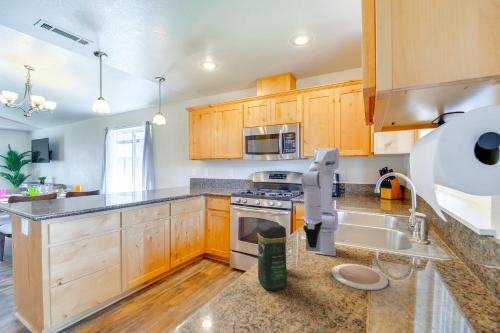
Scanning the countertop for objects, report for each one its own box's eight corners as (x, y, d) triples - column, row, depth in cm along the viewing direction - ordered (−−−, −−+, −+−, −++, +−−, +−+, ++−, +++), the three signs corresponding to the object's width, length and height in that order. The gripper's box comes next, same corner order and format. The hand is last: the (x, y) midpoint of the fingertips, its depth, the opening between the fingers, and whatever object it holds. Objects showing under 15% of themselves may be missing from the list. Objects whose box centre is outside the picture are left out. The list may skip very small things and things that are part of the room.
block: (307, 246, 81) (307, 229, 81) (320, 247, 80) (320, 230, 80) (306, 250, 77) (305, 232, 77) (319, 252, 75) (319, 234, 75)
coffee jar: (291, 288, 66) (290, 225, 66) (265, 293, 63) (264, 227, 64) (277, 274, 75) (276, 218, 75) (255, 277, 73) (254, 220, 73)
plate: (332, 263, 83) (332, 260, 83) (382, 269, 77) (382, 266, 77) (331, 284, 68) (331, 281, 68) (393, 294, 62) (393, 290, 62)
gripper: (303, 202, 87) (304, 237, 87) (297, 208, 73) (298, 250, 73) (323, 202, 84) (323, 239, 84) (320, 209, 71) (321, 253, 71)
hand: (313, 244), depth 78 cm, fingers closed on block, 4 cm apart
